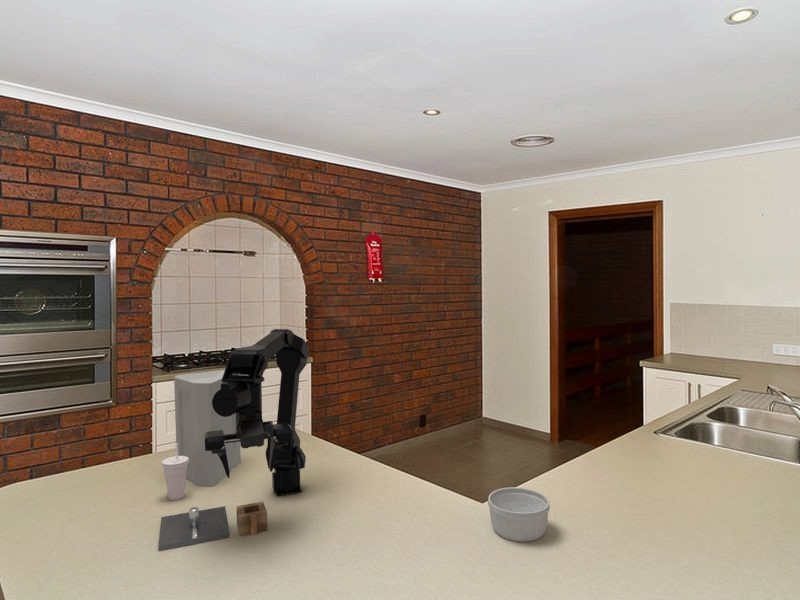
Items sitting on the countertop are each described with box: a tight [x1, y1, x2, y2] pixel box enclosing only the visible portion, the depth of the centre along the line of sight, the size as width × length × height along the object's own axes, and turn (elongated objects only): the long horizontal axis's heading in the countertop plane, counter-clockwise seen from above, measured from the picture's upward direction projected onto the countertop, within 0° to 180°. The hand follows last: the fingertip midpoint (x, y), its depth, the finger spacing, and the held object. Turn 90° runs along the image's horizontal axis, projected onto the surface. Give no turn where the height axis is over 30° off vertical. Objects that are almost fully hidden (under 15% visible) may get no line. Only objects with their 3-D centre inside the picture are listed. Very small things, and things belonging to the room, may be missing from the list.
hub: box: [157, 505, 231, 552], centre depth 116 cm, size 14×14×4 cm
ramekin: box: [487, 486, 551, 543], centre depth 114 cm, size 13×13×7 cm
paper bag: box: [173, 369, 241, 488], centre depth 149 cm, size 19×15×28 cm
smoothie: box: [161, 443, 189, 501], centre depth 133 cm, size 6×6×14 cm
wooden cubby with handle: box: [235, 501, 268, 536], centre depth 116 cm, size 6×7×4 cm
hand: (250, 474), depth 116 cm, fingers open, 9 cm apart
